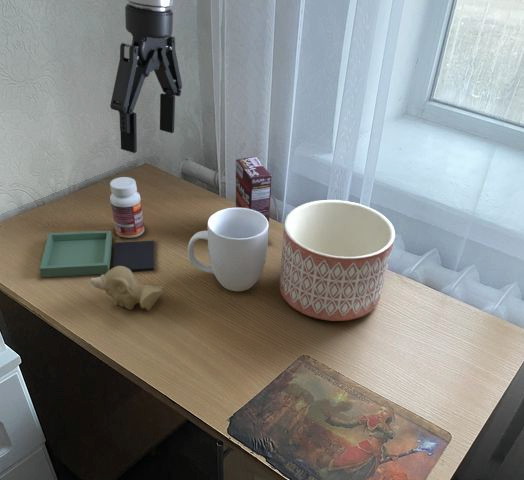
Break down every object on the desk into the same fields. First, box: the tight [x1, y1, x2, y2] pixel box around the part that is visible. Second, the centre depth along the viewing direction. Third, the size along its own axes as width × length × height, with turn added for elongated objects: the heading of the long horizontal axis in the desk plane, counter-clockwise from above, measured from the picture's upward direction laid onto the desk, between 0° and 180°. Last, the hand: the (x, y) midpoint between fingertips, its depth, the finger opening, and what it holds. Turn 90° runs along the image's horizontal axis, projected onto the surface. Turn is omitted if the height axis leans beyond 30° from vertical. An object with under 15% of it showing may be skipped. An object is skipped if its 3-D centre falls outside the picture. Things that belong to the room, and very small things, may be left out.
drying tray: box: [39, 230, 113, 278], centre depth 108 cm, size 13×13×2 cm
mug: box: [187, 207, 269, 292], centre depth 100 cm, size 15×11×13 cm
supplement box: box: [235, 156, 273, 234], centre depth 111 cm, size 9×5×16 cm, turn 22°
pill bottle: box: [109, 176, 145, 239], centre depth 112 cm, size 6×6×11 cm
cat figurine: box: [90, 266, 165, 311], centre depth 96 cm, size 8×7×12 cm
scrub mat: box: [112, 240, 155, 273], centre depth 109 cm, size 10×8×1 cm
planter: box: [279, 199, 396, 322], centre depth 98 cm, size 19×19×15 cm
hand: (148, 140), depth 99 cm, fingers open, 13 cm apart
